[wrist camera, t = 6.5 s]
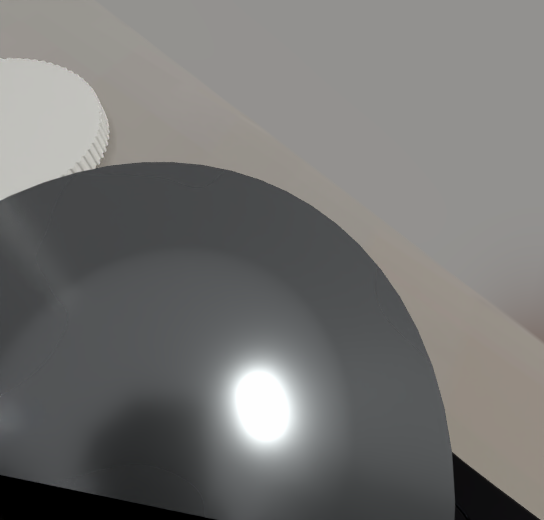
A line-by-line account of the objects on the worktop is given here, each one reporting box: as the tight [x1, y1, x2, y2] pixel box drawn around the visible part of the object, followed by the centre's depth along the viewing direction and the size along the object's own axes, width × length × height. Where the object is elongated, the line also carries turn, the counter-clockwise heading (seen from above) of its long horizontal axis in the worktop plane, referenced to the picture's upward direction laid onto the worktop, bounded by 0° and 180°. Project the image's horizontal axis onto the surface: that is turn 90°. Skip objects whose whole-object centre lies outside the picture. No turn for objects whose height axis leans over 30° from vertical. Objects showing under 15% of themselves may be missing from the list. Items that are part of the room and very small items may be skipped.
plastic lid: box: [0, 58, 110, 201], centre depth 23 cm, size 14×14×2 cm
